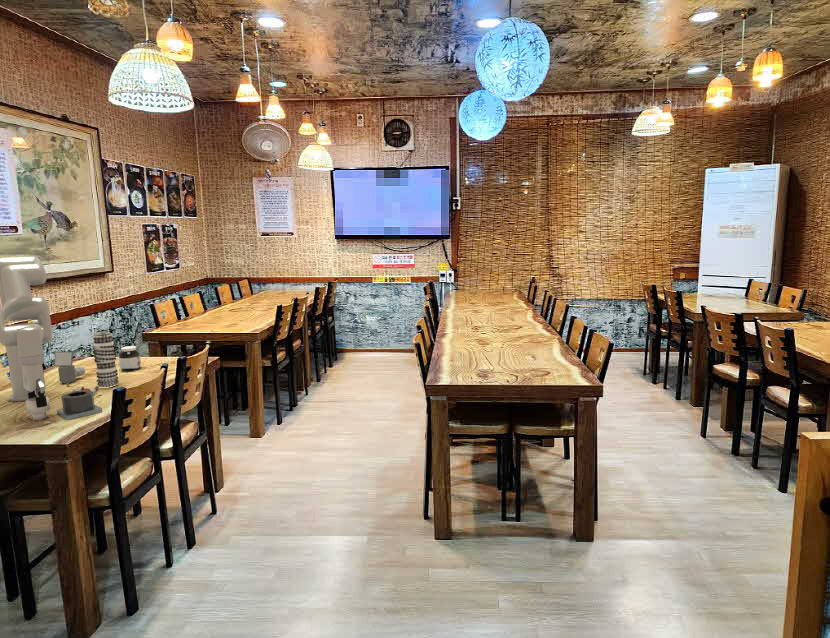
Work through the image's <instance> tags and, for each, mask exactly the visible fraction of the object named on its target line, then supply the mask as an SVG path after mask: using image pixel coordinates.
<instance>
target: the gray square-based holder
mask: <svg viewBox="0 0 830 638" xmlns="http://www.w3.org/2000/svg"><path fill="white" fill-rule="evenodd" d="M90 390H91V389H90ZM90 390H82V391H74V390H73V391H74V392H72V391H71V392H70V391H69V392H67V393H63V395H61V402H62V408H59V409H56V414H57V415H59V416H60V417H62V418H64V419H65V420H66V421H70V420H74V419H78V418H82V417H81V416H83V417H86V416H85V415H87V416H90V415H89V414H91V415H94V414H93V413H95V414H98V413H97V412H99V413H101V412H100V411H102V412H103V408H102V407H101V406H99V405H97V404H95V398H94V396H93V392H92V391H90Z"/></svg>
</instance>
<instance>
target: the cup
mask: <svg viewBox="0 0 830 638" xmlns="http://www.w3.org/2000/svg"><path fill="white" fill-rule="evenodd" d="M46 401H47V406H45V407H40V408H37V406H36V398H35V397H34V398H30V399H27V400H25V407H26V412H27V414H30V415H31V417H32V421H41V420H45V419H47V417H48V414H47V411H50V410H51V406H50V397H49V396H46Z"/></svg>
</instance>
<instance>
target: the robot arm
mask: <svg viewBox="0 0 830 638" xmlns="http://www.w3.org/2000/svg"><path fill="white" fill-rule="evenodd" d="M46 281H47V273H46V269H45V266H44V264H43V263H42V261H41V259H40V258H39V257H37V256H30V255H29V256H8V257H7V256H5V257H0V303H1V307H0V345H1V346H4V347H5V351H6V356H7V363H8V368H9V369H8V371H9V376H10V383H11V384H10V385H11V392H12V394H11V395H9V396H8V400H9V401H10V402H22V401H25V402H26V400H27V399H30V398H34V397H35V398H36V406H37V408H40V407H45V406H47V401H46V390H45V389H46V379H45V373H44V368H43V364H45V356H44V348H43V347H44V346H43V345H44V344H48V343H51V341H53V328H52V321H51V315H50V308H49V304H48V301H47V299H46V298H44V297H42V296H33V294H32V290H31V286H37V285H38V286H39V285H43V284H45V283H46ZM6 320H7V321H9V322H19V321H20V322H21V321H32V320H36V321H37V322H35V321H34V322H27V323H17V324H10V325H6V324H5V321H6Z"/></svg>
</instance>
